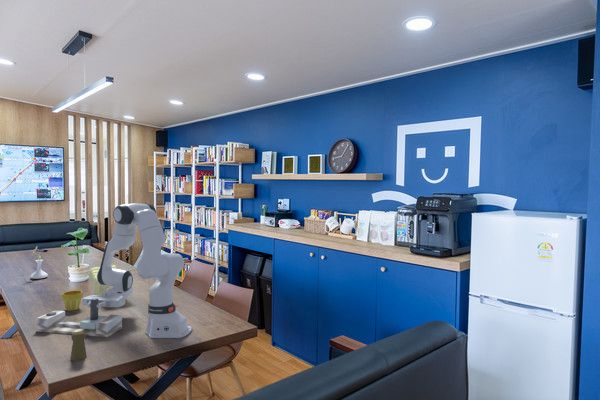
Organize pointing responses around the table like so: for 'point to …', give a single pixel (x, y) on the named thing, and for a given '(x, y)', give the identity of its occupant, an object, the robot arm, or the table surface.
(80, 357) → the olive brown pepper mill
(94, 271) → the slatted curved stool
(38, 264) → the flower in vase
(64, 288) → the table surface
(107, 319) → the rail track
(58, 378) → the table surface
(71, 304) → the plant pot
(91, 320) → the carriage
